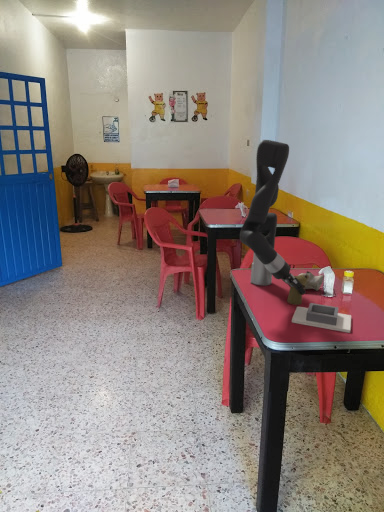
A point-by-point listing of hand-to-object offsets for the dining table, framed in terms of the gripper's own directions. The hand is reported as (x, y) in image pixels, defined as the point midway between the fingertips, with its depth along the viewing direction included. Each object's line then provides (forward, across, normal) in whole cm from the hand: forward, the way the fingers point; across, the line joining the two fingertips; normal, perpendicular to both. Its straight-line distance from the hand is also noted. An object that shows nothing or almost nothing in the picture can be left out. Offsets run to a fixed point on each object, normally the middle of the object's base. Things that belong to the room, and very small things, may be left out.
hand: (299, 290), depth 163 cm
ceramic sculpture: (+12, +13, -5) cm, 18 cm away
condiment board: (+2, -18, +4) cm, 19 cm away
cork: (+2, 0, +5) cm, 5 cm away
